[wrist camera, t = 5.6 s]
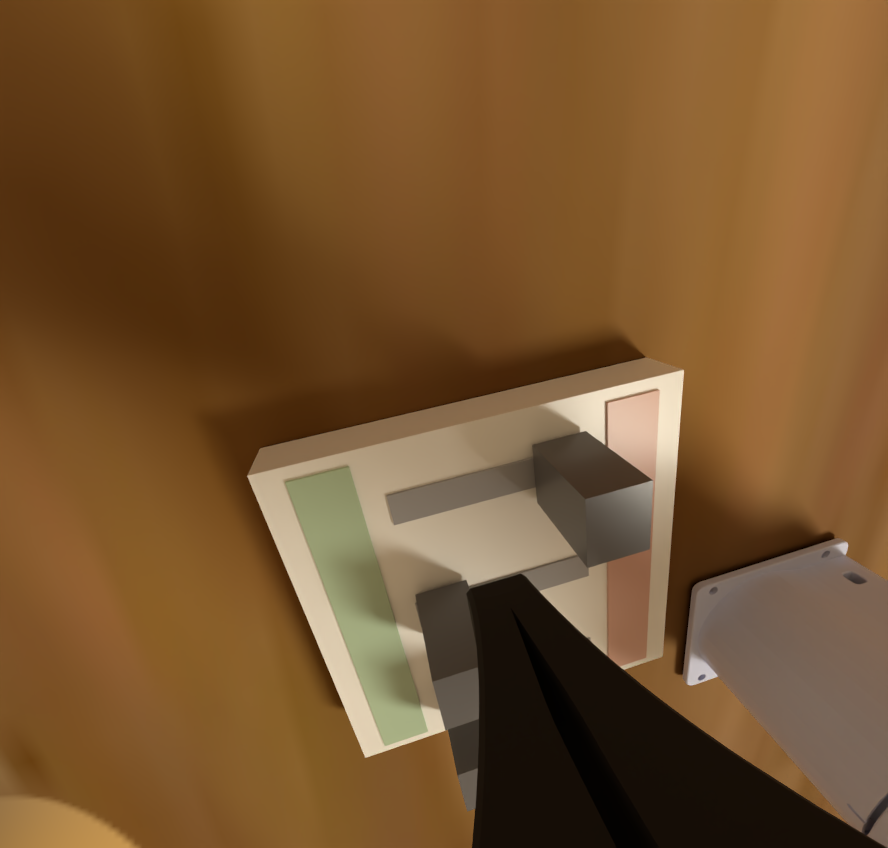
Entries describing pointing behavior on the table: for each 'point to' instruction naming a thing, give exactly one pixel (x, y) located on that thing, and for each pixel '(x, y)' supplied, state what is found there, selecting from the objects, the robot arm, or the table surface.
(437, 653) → the block
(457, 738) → the block
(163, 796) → the table surface
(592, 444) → the block
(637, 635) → the breaker board
